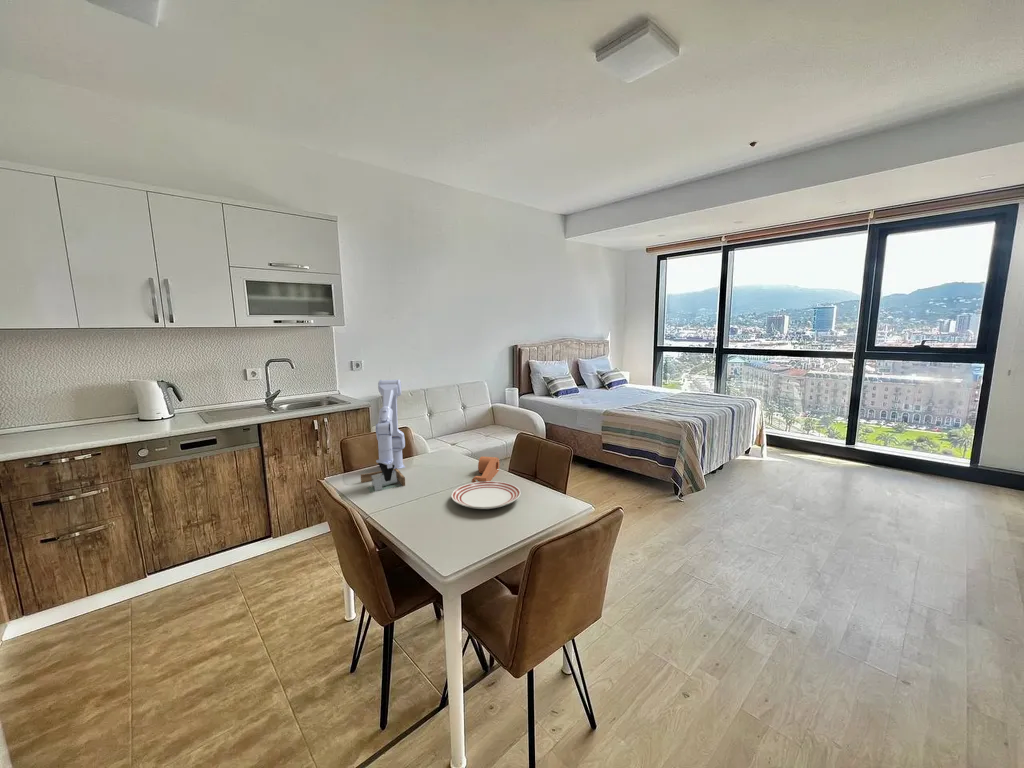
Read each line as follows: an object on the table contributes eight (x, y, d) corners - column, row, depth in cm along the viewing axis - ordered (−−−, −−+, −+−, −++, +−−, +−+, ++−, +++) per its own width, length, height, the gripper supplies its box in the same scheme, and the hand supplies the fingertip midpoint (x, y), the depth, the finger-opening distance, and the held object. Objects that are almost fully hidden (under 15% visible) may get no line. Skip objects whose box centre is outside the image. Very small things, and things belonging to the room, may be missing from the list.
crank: (483, 470, 192) (483, 454, 191) (499, 471, 190) (499, 455, 189) (469, 485, 173) (468, 467, 172) (486, 487, 171) (485, 469, 170)
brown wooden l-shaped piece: (361, 483, 176) (360, 474, 176) (397, 476, 184) (396, 468, 184) (366, 494, 164) (366, 484, 164) (405, 486, 172) (404, 477, 172)
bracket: (395, 480, 176) (394, 469, 176) (399, 484, 171) (397, 473, 170) (372, 486, 172) (370, 475, 171) (375, 491, 167) (373, 480, 166)
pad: (367, 487, 172) (367, 486, 172) (397, 481, 178) (397, 480, 178) (370, 492, 166) (370, 492, 166) (401, 486, 172) (401, 485, 172)
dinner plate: (449, 490, 168) (449, 482, 168) (512, 484, 174) (512, 476, 173) (453, 519, 141) (453, 510, 141) (528, 511, 147) (528, 502, 146)
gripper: (372, 446, 176) (374, 476, 177) (379, 455, 163) (381, 486, 165) (388, 444, 179) (390, 473, 181) (396, 452, 167) (398, 483, 168)
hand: (387, 479), depth 173 cm, fingers closed on bracket, 3 cm apart
